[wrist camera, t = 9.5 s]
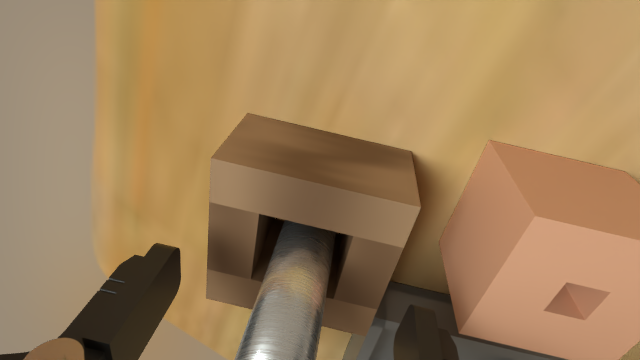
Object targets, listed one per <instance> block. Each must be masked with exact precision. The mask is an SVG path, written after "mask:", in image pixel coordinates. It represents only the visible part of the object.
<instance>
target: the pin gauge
mask: <svg viewBox="0 0 640 360" xmlns="http://www.w3.org/2000/svg"><path fill="white" fill-rule="evenodd" d="M335 236H336V232H334V231H330V230H326V229H322V228H317V227H313V226H309V225H305V224H300V223H296V222H292V221H288V220H285V221H284V223H283V226H282V229H281V232H280V235H279V237H278V240H277V243H276V246H275V249H274V251H273V254H272V257H271V260H270V262H269V265H268V268H267V271H266V274H265V276H264V279H263V282H262V285H261V288H260V290H259V293H258V296H257V299H256V301H255V304H254V307H253V310H252V313H251V315H250V318H249V321H248V324H247V327H246V329H245V332H244V335H243V338H242V340H241V343H240V346H239V349H238V352H237V354H236V357H235V360H316V357H317V350H318V344H319V338H320V331H321V325H322V318H323V312H324V306H325V299H326V293H327V287H328V280H329V274H330V268H331V261H332V255H333V249H334V242H335Z"/></svg>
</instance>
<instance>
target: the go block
mask: <svg viewBox="0 0 640 360" xmlns="http://www.w3.org/2000/svg"><path fill="white" fill-rule="evenodd" d="M420 209H421V204H420V199H419V193H418V187H417V182H416V176H415V170H414V165H413V159H412V153H411V151H407V150H403V149H398V148H394V147H390V146H385V145H381V144H377V143H373V142H368V141H364V140H360V139H355V138H351V137H347V136H343V135H338V134H334V133H330V132H326V131H321V130H317V129H313V128H308V127H304V126H300V125H296V124H291V123H287V122H283V121H278V120H274V119H270V118H266V117H261V116H257V115H253V114H248V113H247V114H246V116H245V117H244V118H243V119H242V121H241V122H240V123H239V124H238V125H237V127H236V128H235V129H234V130H233V132H232V133H231V134H230V135H229V136H228V138H227V139H226V140H225V141H224V143H223V144H222V145H221V146H220V147H219V149H218V150H217V151H216V152H215V154H214V155H213V156H212V157H211V167H210V197H209V227H208V257H207V287H206V298H207V299H211V300H215V301H219V302H224V303H228V304H232V305H236V306H240V307H244V308H249V309H253V307H254V304H255V301H256V299H257V296H258V293H259V290H260V288H261V285H262V282H263V279H264V276H265V274H266V271H267V268H268V265H269V262H270V260H271V257H272V254H273V251H274V249H275V246H276V243H277V240H278V237H279V235H280V232H281V229H282V226H283V223H284V221H282V220H277V219H274V218H279V219H283V220H288V221H292V222H296V223H300V224H305V225H309V226H313V227H317V228H322V229H326V230H330V231H334V232H338V233H342V235H341V234H337V233H336V236H335V242H334V249H333V255H332V261H331V268H330V274H329V280H328V287H327V293H326V299H325V306H324V312H323V318H322V325H321V326H324V327H328V328H332V329H336V330H341V331H345V332H349V333H353V334H357V335H362V336H366V335H367V333H368V330H369V328H370V326H371V323H372V321H373V319H374V316H375V314H376V312H377V309H378V307H379V305H380V302H381V300H382V298H383V295H384V293H385V291H386V288H387V286H388V284H389V281H390V279H391V277H392V274H393V272H394V270H395V267H396V265H397V263H398V260H399V258H400V256H401V253H402V251H403V249H404V246H405V244H406V242H407V239H408V237H409V235H410V232H411V230H412V228H413V225H414V223H415V221H416V218H417V216H418V214H419V211H420Z"/></svg>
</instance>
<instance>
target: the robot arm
mask: <svg viewBox="0 0 640 360" xmlns="http://www.w3.org/2000/svg"><path fill="white" fill-rule="evenodd" d="M180 281H181V267H180V249H179V248H176V247H172V246H168V245H164V244H159V243H156V244H154V245H153V246H152V247H151V249H150V250H149V251H148V252H147V254H146V255H145V256H144V257H143V256H138V255H134V256H133V257H131V258H129V259H128V260H126V261H125V262H123V263H122V264H120V265H119V266H118V267H117V269H116V270H115V271H114V272H113V273H112V275H111V276H110V277H109V280H107V281H106V282H105V283H104V284H103V286H102V287H101V288H100V291H98V292H97V293H96V294H95V295H94V296H93V298H92V299H91V300H90V302H88V304H87V305H86V306H85V307H84V309H83V310H82V311H81V312H80V313H79V315H78V316H77V317H76V318H75V319H74V320H73V322H72V323H71V324H70V325H69V327H68V328H67V329H66V330H65V331H64V332H63V333H62V334H61V335H60V336H59V337H58V338H57V339H52V340H49V341H47V342H44V343H42V344H40V345H39V346H37V347H36V348H34V349H33V350H32V351H30V352H24V353H15V354H2V355H0V360H138V359H139V357H140V355H141V353H142V352H143V350H144V349H145V347H146V345H147V344H148V342H149V340H150V338H151V337H152V335H153V333H154V332H155V330H156V328H157V327H158V325H159V323H160V321H161V320H162V318H163V316H164V315H165V313H166V311H167V310H168V308H169V306H170V305H171V303H172V301H173V299H174V298H175V296H176V294H177V292H178V289H179V285H180ZM393 355H394V360H459V356H458V351H457V346H456V344H455V343H454V341H453V339H452V337H451V336H450V334H449V332H448V331H447V330H445V329H441V328H438V326H437V320H436V314H435V311H434V310H433V309H429V308H425V307H420V306H416V305H412V304H411V305H410V306H409V307H408V309H407V311H406V313H405V315H404V317H403V319H402V321H401V323H400V325H399V327H398V329H397V331H396V334H395V338H394V345H393Z"/></svg>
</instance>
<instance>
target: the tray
mask: <svg viewBox="0 0 640 360" xmlns="http://www.w3.org/2000/svg"><path fill="white" fill-rule="evenodd" d="M411 304H412V305H416V306H420V307H425V308H429V309H433V310H434V311H435V314H436V320H437V326H438V328H441V329H445V330H447V331H448V332H449V334H450V336H451V337H452V339H453V341H454V343H455V344H456V346H457V351H458V356H459V360H568V359H564V358H560V357H556V356H551V355H547V354H543V353H539V352H535V351H530V350H526V349H522V348H518V347H514V346H510V345H505V344H501V343H497V342H493V341H489V340H484V339H480V338H476V337H472V336H468V335H463V334H459V332H458V328H457V323H456V319H455V314H454V309H453V305H452V300H451V296H450V295H446V294H442V293H438V292H434V291H429V290H425V289H421V288H417V287H413V286H408V285H404V284H400V283H396V282H392V281H389V284H388V286H387V288H386V291H385V293H384V295H383V298H382V300H381V302H380V305H379V307H378V309H377V312H376V314H375V316H374V319H373V321H372V323H371V326H370V328H369V330H368V333H367V335H366V336H362V335H357V334H352V336H351V339H350V341H349V344H348V346H347V349H346V351H345V354H344V356H343V359H342V360H394V355H393V345H394V338H395V334H396V331H397V329H398V327H399V325H400V323H401V321H402V319H403V317H404V315H405V313H406V311H407V309H408V307H409V306H410V305H411Z"/></svg>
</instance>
